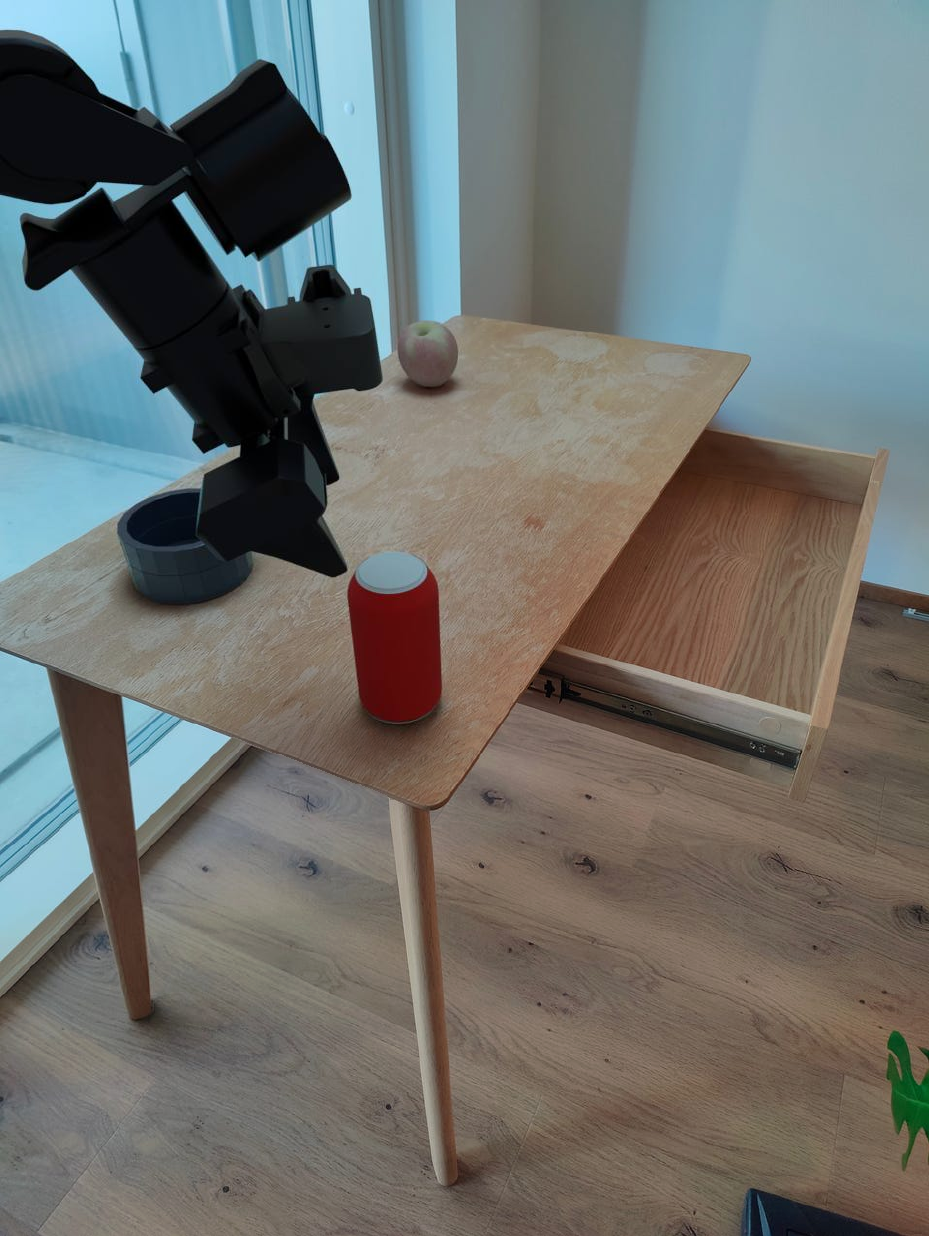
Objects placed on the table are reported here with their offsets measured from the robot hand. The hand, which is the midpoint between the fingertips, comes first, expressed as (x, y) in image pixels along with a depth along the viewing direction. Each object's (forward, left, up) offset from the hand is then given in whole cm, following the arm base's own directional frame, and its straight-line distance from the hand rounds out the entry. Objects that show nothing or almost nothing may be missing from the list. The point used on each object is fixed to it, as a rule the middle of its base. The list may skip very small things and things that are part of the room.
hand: (336, 524), depth 53 cm
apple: (+50, +33, -16) cm, 62 cm away
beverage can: (+2, -2, -16) cm, 16 cm away
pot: (+4, +24, -16) cm, 29 cm away
